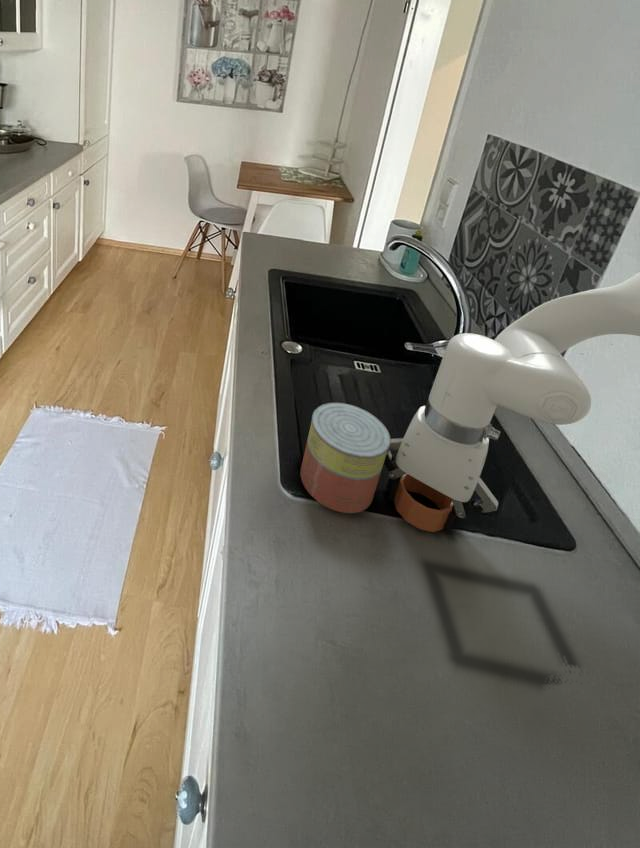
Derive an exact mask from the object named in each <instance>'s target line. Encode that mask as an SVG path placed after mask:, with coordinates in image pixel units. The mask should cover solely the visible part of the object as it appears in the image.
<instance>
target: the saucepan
mask: <svg viewBox="0 0 640 848" xmlns="http://www.w3.org/2000/svg"><path fill="white" fill-rule="evenodd" d="M409 492H410V493H414V494H415V493H416V494H420V495H422V496H424V497H425V498H427V499H428V500H431V502H432V503H434V505H435V506H436V507H437V508H438V509H437V508H431V507H427V506H426V505H424V504H422V503H420V502H418V501H417V500H415V499H414V498H413V497H412V496H411V494H410V493H409ZM393 503H394V507H395V510H396V512H398V514H399V515H400V516H401V517H402V518H403V519H404V521H406V523H409V524H410V525H412V526H414V527H415V528H417V529H419V530H422V531H427V532H431V533H435V532H440V531H441V530H442V531H443V530H444V527H445V525H446V523H447V520H448V518H449V515H450V513H451V511H452V508H453V502H452V498H450V497H448V496H447V495H445V494H443V493H441V492H439V491H437V490H435V489H434V488H432V487H430V486H428V485H426V484H425V483H423V482H421V481H419V480H417V479H416V478H414V477H412V476H410V475H409V474H405V475H403V476H402V477H401V479H400V481H399V484H398V487H397V490H396V493H395V496H394V498H393Z"/></svg>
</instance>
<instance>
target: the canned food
mask: <svg viewBox="0 0 640 848" xmlns="http://www.w3.org/2000/svg"><path fill="white" fill-rule="evenodd" d="M391 439H392V438H391V434H390V433H389V430H388V428H387V427H386V426H385V424H383V422H382V421H381V420H380V419H379V418H378V417H376V416H375V415H373V414H372V413H370V412H369V411H367V410H365V409H363V408H361V407H359V406H357V405H352V404H349V403H344V402H328V403H323V404H321V405H319V406H318V407H316V408H315V409H314V410H313V412H312V414H311V421H310V427H309V432H308V436H307V439H306V444H305V448H304V453H303V458H302V461H301V467H300V472H299V473H300V480H301V483H302V485H303V486H304V488H305V490H306V491H307V493H308V494H309V495H310V496H311V497H312V498H313V499H314V500H315V501H316V502H318V503H320V504H321V505H323V506H324V507H326V508H328V509H330V510H333V511H335V512H340V513H345V514H356V513H360V512H363V511H366V509H368V508H369V507H370V506H371V504H372V503H373V499H374V496H375V493H376V489H377V486H378V483H379V479H380V476H381V474H382V470H383V468H384V461H385V457H386V454H387V451H388V449H389V446H390V443H391Z"/></svg>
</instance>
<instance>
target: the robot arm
mask: <svg viewBox="0 0 640 848" xmlns="http://www.w3.org/2000/svg"><path fill="white" fill-rule="evenodd" d="M607 335H630V336H637V337H640V271H639V272H636V273H635V274H634V275H632V276H631V277H628V278H627V279H626V280H624V281H622V282H620V283H618V284H615V285H610V286H606V287H599V288H593V289H588V290H584V291H579V292H576V293H572V294H569V295H564V296H560V297H556V298H553V299H551V300H549V301H545V302H544V303H542V304H540V305H538V306H536V307H534V308H533V309H531V310H530V311H528V312H527V313H525V314H524V315H522V316H520V317H519V318H517V319H516V320H515V321H513V322H512V323H511V324H509V325H508V326H507V327H505V328H504V329H503V330H502V331H501V332H500V333H499V334H498V335H497V336H496V337H495V338H494V339H492V338H490V337H489V336H488V337H487V336H485V335H482V334H477V333H472V332H471V333H470V332H464V333H457V334H456V335H453V336H452V337H451V338H450V339H449V341H448V343H447V345H446V347H445V349H444V350H445V351H444V352H443V356H442V359H441V361H440V364H439V367H438V370H437V373H436V376H435V378H434V380H433V384H432V387H431V389H430V393H429V395H428V398H427V401H426V403H425V405H423V406H420V407H419V408H418V409H417V410H416V413H415V414H414V415H413V417H412V419H411V421H410V422H409V425H408V427H407V429H406V431H405V433H404V435H403V437H399V438H398V437H396V438H395V437H394V438H390V439H391V443H390V446H389V449H388V451H387V454H386V457H385V461H384V464H383V466H385V469H386V470H387V471H388V477H389V479H388V481H387V485H386V487H385V490H386V491H388V496H387V500H388V501H391V502H394V500H393V498H394V496H395V493H396V490H397V487H398V484H399V481H400V479H401V477H402V476H403V475H405V474H409V475H410V476H412V477H414V478H416V479H417V480H419V481H421V482H423V483H425V484H426V485H428V486H430V487H432V488H434V489H435V490H437V491H439V492H441V493H443V494H445V495H447V496H448V497H450V498H452V502H453V508H452V511H451V513H450V515H449V518H448V520H447V523H446V525H445V527H444V529H442V531H443V532H444V534H446V535H449V534H450V532H451V529H453V530H455V531H457V530H458V527H459V526H460V523H461V521H462V519H465V518H466V517H467V516H479V515H482V514H483V513H491V512H496V511H497V510H498V508H499V501H498V499H497V498H496V497H495V495H494V494H493V493H492V492H491V490H490V489H489V488H488V485H487V484H486V483H485V482H484V481H483V479H482V478H481V474H482V471H483V468H484V466H485V462H486V459H487V456H488V452H489V444H490V439H492V440H493V441H496V442H497V441H498V439H499V437H500V435H501V431H500V430H498V429H495V427H494V426H492V425H493V424H492V423H491V422H492V419H493V416H494V414H495V412H496V409H497V407H498V406H500V407H502V408H504V409H507V410H509V411H512V412H514V413H516V414H519V415H522V416H524V417H526V418H530V419H532V420H534V421H538V422H540V423H545V424H549V425H557V426H560V425H561V426H563V425H565V426H566V425H571V424H575V423H578V422H579V421H582V420H583V419H584V418H585V417H586V416H588V414H589V413H590V410H591V408H592V399H591V394H590V391H589V389H588V387H587V386H586V384H585V383H584V381H583V380H582V378H581V377H580V376H579V375H578V374H577V372H576V371H575V370H574V368H572V367H571V365H570V364H569V362H568V361H567V360H566V359H565V358H564V357H563V355H562V354H563V353H564V352H566V351H567V350H569V349H570V348H572V347H573V346H575V345H578V344H579V343H581V342H584V341H587V340H589V339H592V338H596V337H600V336H607ZM391 451H397V453H396V456H394V453H392V452H391ZM474 492H475V493H476V494H477V496H478V497H479V498H480V499H478V498H477V499H472V496H473V494H474Z"/></svg>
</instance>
